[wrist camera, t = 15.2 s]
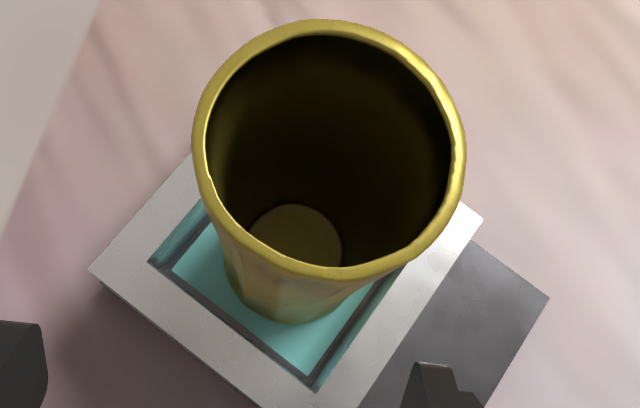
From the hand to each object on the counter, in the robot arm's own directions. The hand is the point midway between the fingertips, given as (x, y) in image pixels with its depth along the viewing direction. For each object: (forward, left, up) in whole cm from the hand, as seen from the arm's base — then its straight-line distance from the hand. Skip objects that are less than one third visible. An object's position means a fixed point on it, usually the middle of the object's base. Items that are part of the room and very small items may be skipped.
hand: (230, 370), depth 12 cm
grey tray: (-1, -4, -13) cm, 14 cm away
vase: (+1, -5, -11) cm, 12 cm away
